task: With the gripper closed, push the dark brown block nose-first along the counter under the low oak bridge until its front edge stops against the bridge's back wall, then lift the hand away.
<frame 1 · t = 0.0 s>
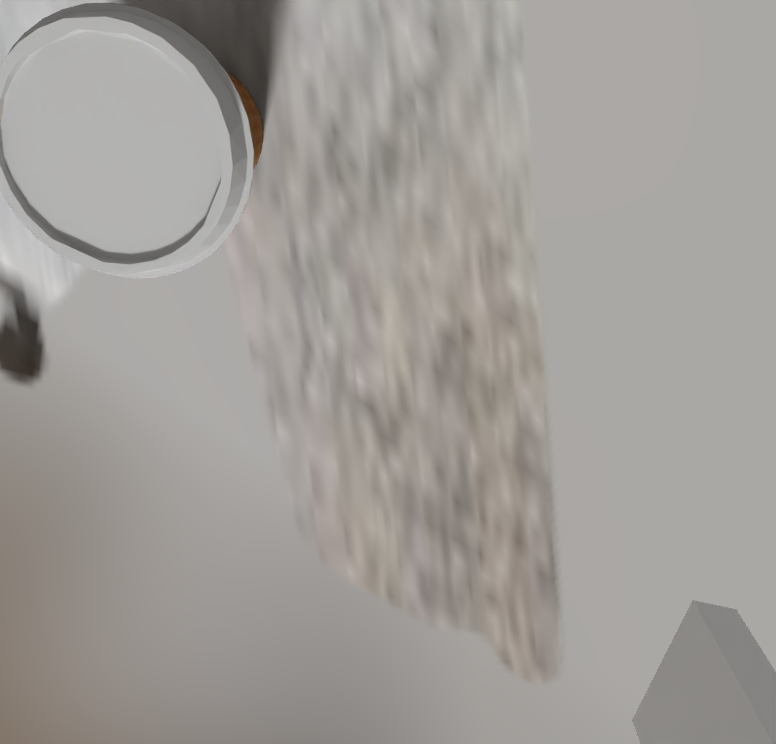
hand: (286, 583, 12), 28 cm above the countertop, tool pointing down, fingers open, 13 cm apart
disposable coffee cup: (201, 130, 36), on the countertop
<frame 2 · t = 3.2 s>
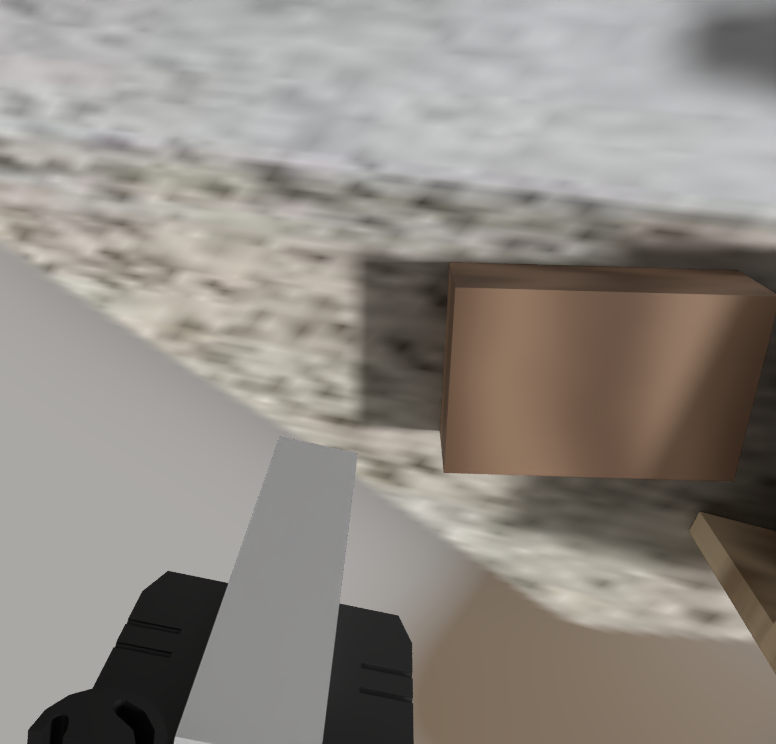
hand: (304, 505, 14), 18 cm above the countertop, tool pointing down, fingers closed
dark brown block: (579, 351, 31), on the countertop
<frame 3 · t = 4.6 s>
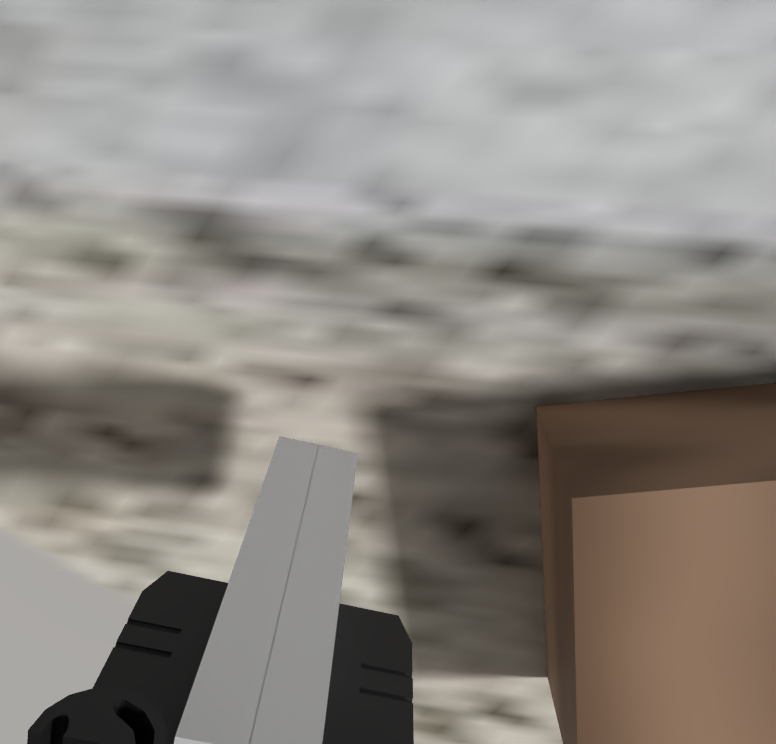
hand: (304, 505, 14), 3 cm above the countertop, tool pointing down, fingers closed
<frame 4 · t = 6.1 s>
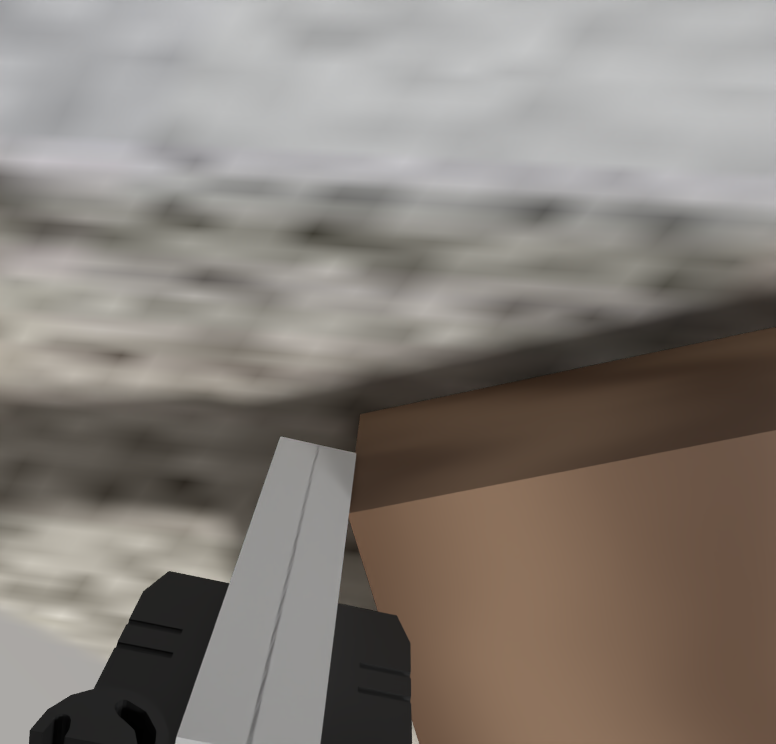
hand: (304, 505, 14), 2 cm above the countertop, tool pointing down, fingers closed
dark brown block: (661, 508, 16), on the countertop, touching gripper
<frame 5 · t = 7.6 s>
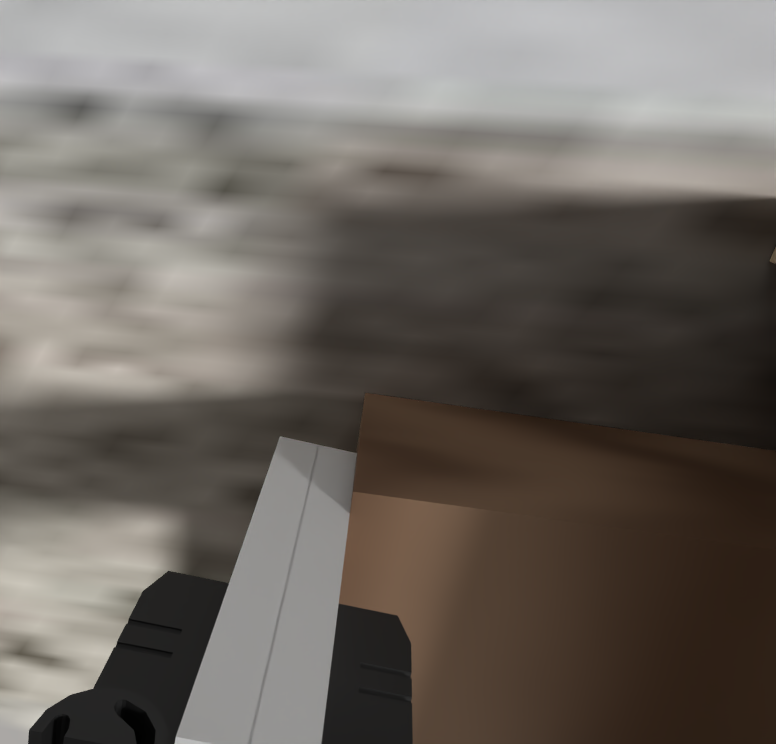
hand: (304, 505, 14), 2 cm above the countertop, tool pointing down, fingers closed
dark brown block: (595, 577, 17), on the countertop, touching gripper
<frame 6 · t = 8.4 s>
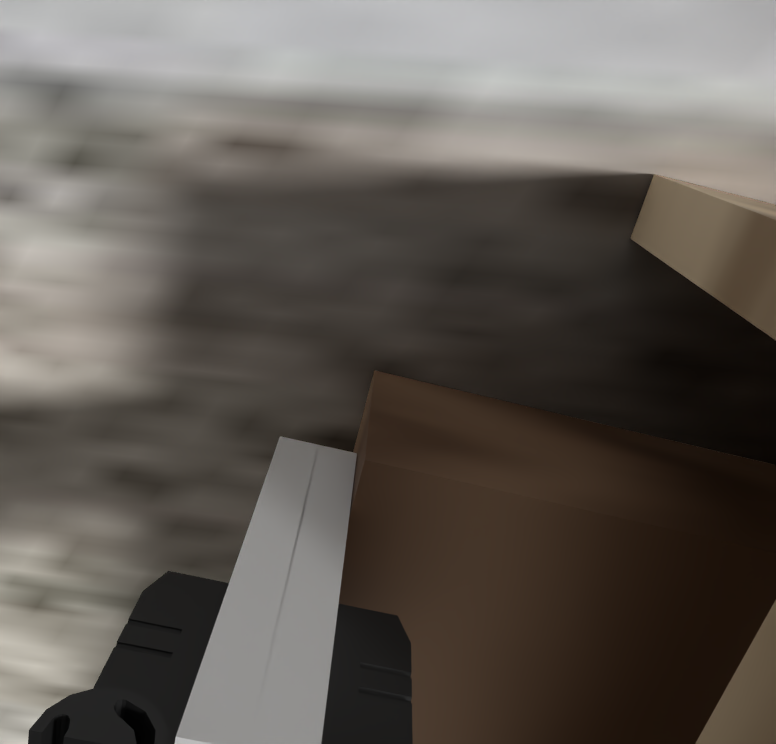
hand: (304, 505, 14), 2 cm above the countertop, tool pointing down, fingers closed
dark brown block: (583, 575, 17), on the countertop, touching gripper
oak bridge: (746, 550, 16), on the countertop
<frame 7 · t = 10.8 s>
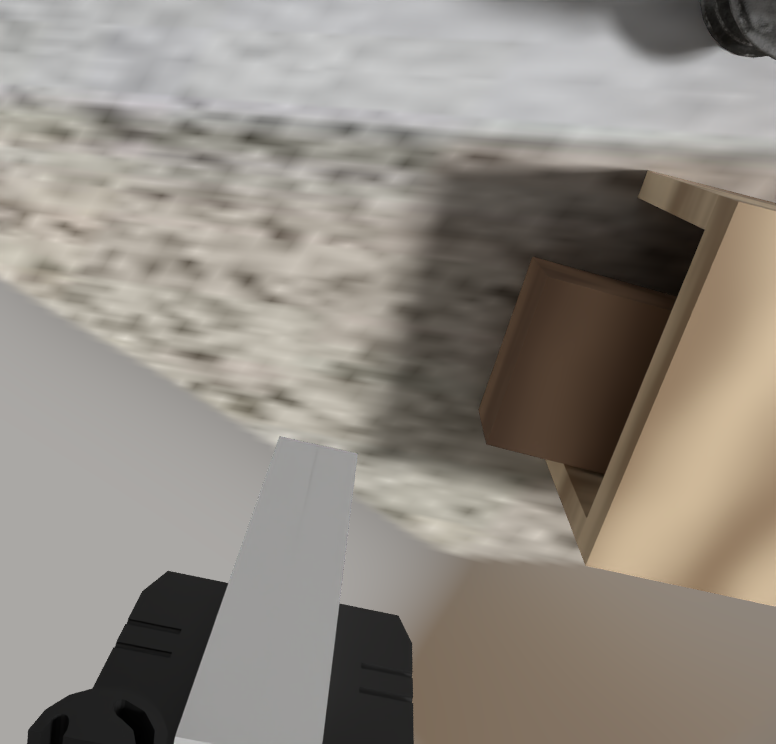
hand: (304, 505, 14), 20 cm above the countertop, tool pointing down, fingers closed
dark brown block: (620, 365, 35), on the countertop
oak bridge: (691, 347, 34), on the countertop
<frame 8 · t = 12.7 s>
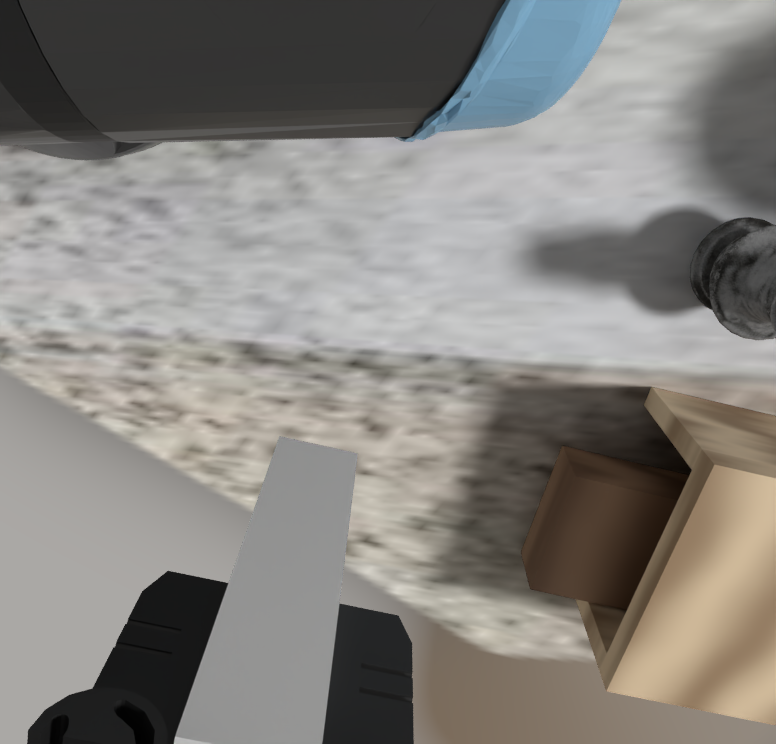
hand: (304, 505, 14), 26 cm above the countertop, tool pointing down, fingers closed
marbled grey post: (738, 265, 39), on the countertop
dark brown block: (629, 518, 45), on the countertop
oak bridge: (684, 507, 44), on the countertop
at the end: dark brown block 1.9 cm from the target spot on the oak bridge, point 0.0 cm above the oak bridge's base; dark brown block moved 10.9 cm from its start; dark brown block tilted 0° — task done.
